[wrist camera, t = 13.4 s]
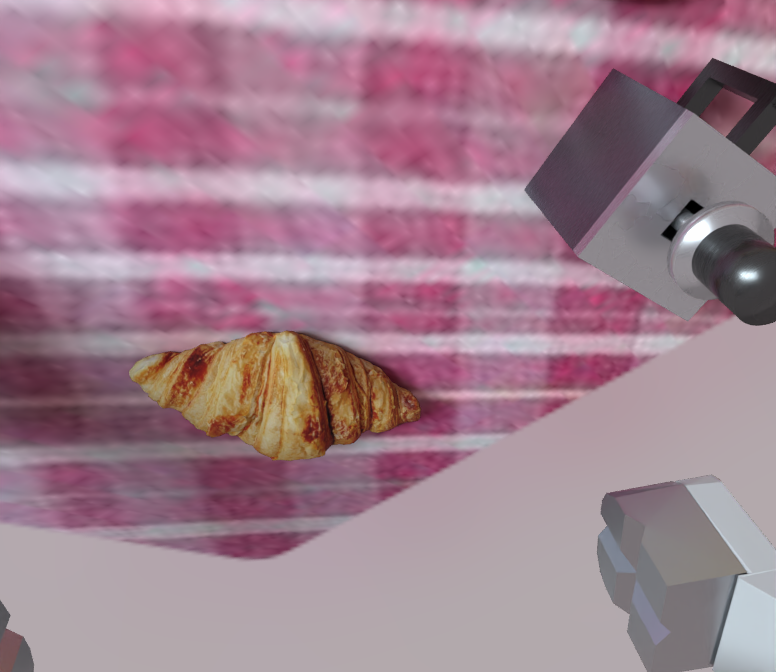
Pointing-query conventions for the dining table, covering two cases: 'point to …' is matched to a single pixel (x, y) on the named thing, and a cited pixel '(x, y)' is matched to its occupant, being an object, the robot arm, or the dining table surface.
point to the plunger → (727, 259)
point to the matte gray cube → (653, 174)
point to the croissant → (277, 393)
